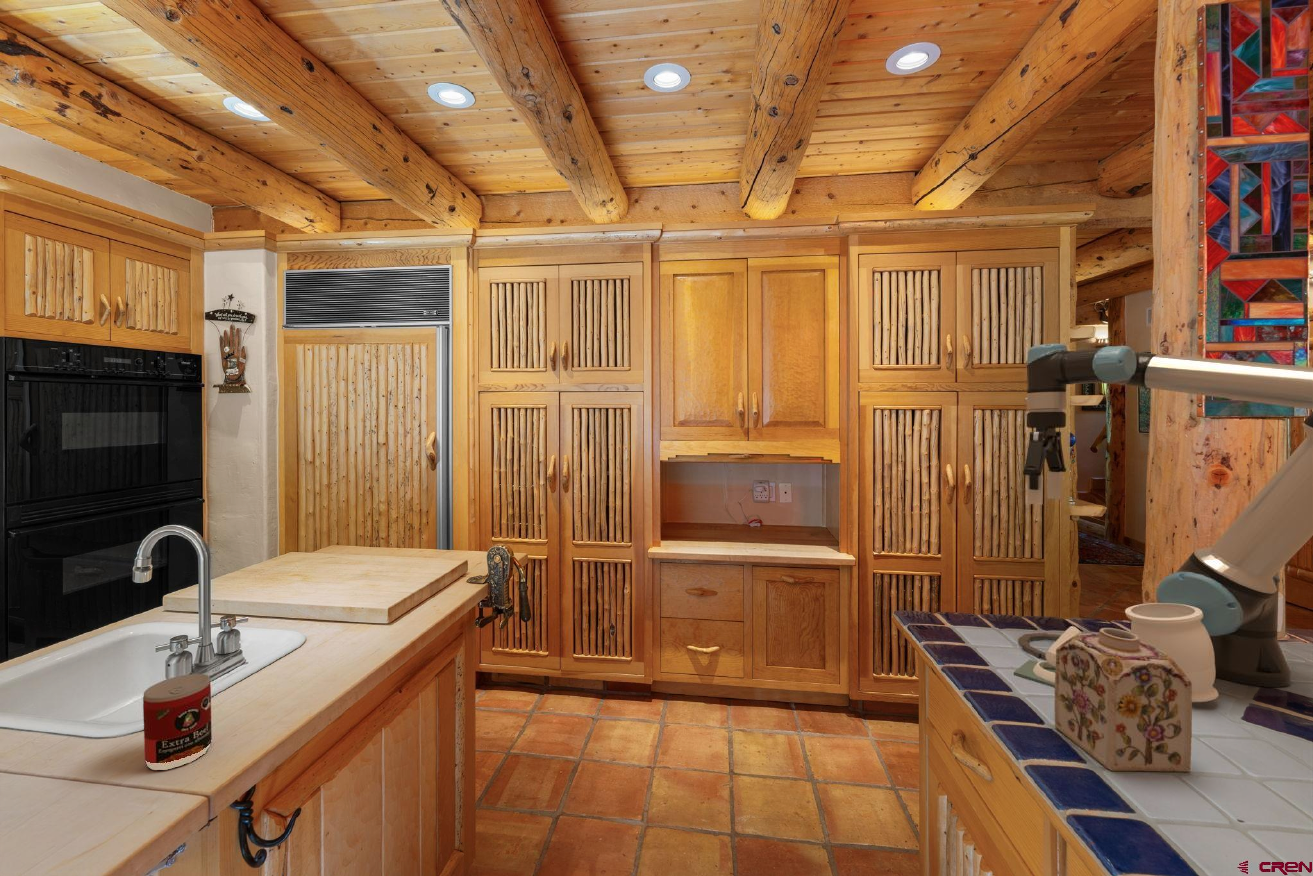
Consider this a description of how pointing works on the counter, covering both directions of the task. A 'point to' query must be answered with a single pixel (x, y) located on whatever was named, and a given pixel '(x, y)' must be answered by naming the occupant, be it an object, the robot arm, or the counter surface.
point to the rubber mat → (1032, 673)
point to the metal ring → (1027, 638)
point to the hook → (1053, 656)
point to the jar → (1179, 641)
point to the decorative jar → (1124, 702)
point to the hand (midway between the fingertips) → (1044, 501)
